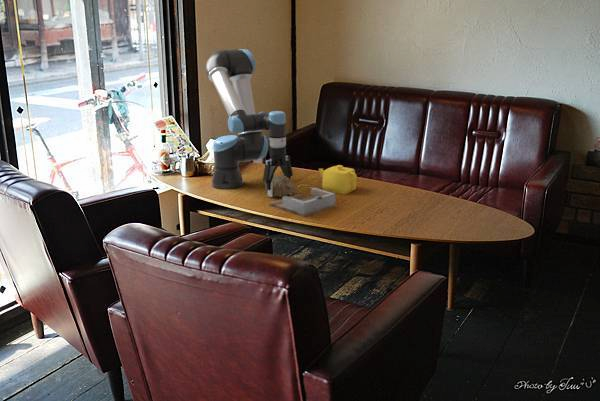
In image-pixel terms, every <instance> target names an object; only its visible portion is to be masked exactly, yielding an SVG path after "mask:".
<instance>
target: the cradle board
mask: <svg viewBox="0 0 600 401" xmlns="http://www.w3.org/2000/svg"><path fill="white" fill-rule="evenodd" d="M289 197H291V198H295V199H298V200H301V201H307V200H311V195H310V196H309V195H306V194H302V193H298V194H292V195H289ZM268 206H270V207H273V208H276V209H278V210H282V211H285V212H288V213H291V214H294V215H296V216H300V217H302V218H306V217H308V216H312V215H315V214H318V213H320V212H324V211H326V210H330V209H333V208H335V207H336V203H335V204H334V205H331V206H328V207H325V208H322V209H319V210H316V211H313V212H310V213H307V214H301V213H298V212H295V211H292V210H289V209H286V208H283V198H281V199H277V200H274V201H270V202H268Z"/></svg>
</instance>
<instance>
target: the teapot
mask: <svg viewBox="0 0 600 401" xmlns="http://www.w3.org/2000/svg"><path fill="white" fill-rule="evenodd" d="M318 172H319V175H320V176H321V178H322V182H321V186H322V187H321V188H322V190H324V191H328V192H331V193H335V194H339V195H347V194H350V193H351V192H354V191H355V190H356V188H357V179H358V175H357V173H356V170H355V169H354V168H351V167H347V166H346V167H344V165H341V164H338V165H334V166H331V167H328V168H326V169H325V170H324V168H318Z"/></svg>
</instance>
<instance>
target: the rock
mask: <svg viewBox="0 0 600 401" xmlns="http://www.w3.org/2000/svg"><path fill="white" fill-rule="evenodd" d="M263 183H264V184H265V190H266V192H267V193H268V190H267V183H266V182H263ZM271 183H273V197H272V198H278V197H280V198H283V196H288V197H289V196H293V195H294V194H295V192H297V188H296V185H295V183H292V182H290V179H289V178H288V177H287V176H284V175H283V174H282V173H280V174H274V176H273V179H272V181H271Z"/></svg>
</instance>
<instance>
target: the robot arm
mask: <svg viewBox="0 0 600 401" xmlns="http://www.w3.org/2000/svg"><path fill="white" fill-rule="evenodd" d="M205 67H206V68H205V71H206V75H207V77H208V79H209V81H210V82H211V83H213V85H214V87H215V90H216V91H217V94H218V96H219V98H220V100H221V103H222V105H223V106H224V109H225V111H226V112H227V115H228V119H227V126H228V130H229V132H230V133H231V134H230V135H222V136H219V137H217V138H216V139H215V140H214V141H213V160H214V161H213V162H214V170H213V171H214V172H213V175H212V179H211V186H212V187H213V188H216V189H222V190H223V189H225V190H226V189H227V190H229V189H230V190H231V189H235V188H240V187H242V186H244V179H243V176H242V174H241V170H240V164H239V163H243V162H250V161H258V160H263V159H264V158H265V157H266V156H267V154H268V151H269V156H270V158H269V159H265V160H264V170H263V176H262V182H263V183H264V182H266V183H267V190H268V192H267V197H269V198H274V197H273V183H271V181H272V179H273V176H274V175H275V172H276V170H277V169H278V168H279V167H280V170H281V172H282V175H283V176H287V177H288V178H289V180H290V179H291V180H292V177H293V175H294V174H293V167H292V163H291V156H290V155H286V154H287V147H286V146H287V119H286V113H285V111H280V110H273V111H272V110H271V111H270V112H267V111H260V112H258V113H256V110H255V104H254V103H255V102H254V97H253V90H252V84H251V78H252V77H253V73H254V72H255V70H256V61H255V56H254V54H253V53H252V52H251V51H250V50H249V49H243V48H242V49H241V48H237V49H219V50H216V51H214V52H213V53H211V55H209V58H208V59H207V61H206V65H205ZM263 131H268V137H269V138H268V137H267V136H266V135H265V134H263V133H262V132H263ZM235 134H237V135H235ZM267 190H266V191H267Z"/></svg>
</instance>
